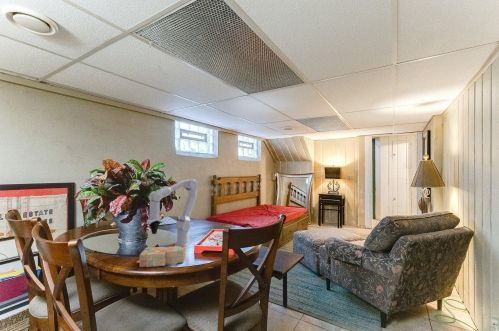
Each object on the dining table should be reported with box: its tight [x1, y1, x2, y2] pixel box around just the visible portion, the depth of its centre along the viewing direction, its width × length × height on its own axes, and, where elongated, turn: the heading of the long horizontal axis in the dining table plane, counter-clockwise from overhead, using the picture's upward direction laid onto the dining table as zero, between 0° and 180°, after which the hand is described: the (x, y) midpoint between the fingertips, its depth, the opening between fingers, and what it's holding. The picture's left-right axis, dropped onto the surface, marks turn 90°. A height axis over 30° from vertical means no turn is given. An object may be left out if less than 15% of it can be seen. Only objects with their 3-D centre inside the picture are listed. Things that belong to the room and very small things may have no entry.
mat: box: [135, 259, 178, 266], centre depth 126 cm, size 8×22×1 cm, turn 83°
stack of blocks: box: [139, 245, 187, 268], centre depth 124 cm, size 21×6×12 cm
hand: (154, 233), depth 143 cm, fingers closed
